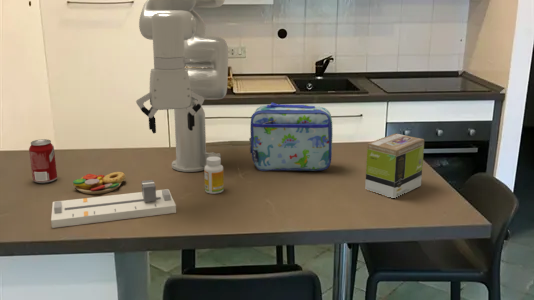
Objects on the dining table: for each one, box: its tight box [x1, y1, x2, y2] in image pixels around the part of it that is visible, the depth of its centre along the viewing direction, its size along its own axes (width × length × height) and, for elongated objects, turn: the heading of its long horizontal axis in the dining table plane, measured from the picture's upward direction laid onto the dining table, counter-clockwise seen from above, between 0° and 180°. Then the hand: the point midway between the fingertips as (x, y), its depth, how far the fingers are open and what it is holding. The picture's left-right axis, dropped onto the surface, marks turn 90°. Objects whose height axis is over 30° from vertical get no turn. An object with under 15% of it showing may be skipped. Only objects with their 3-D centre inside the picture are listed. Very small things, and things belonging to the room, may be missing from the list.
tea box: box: [364, 132, 425, 199], centre depth 155 cm, size 15×10×15 cm, turn 135°
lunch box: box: [249, 102, 333, 172], centre depth 170 cm, size 26×11×21 cm, turn 84°
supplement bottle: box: [203, 157, 225, 195], centre depth 152 cm, size 5×5×10 cm
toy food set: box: [72, 171, 126, 195], centre depth 155 cm, size 13×13×3 cm
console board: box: [50, 188, 177, 229], centre depth 139 cm, size 30×12×4 cm, turn 109°
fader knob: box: [140, 179, 157, 202], centre depth 141 cm, size 3×5×4 cm, turn 19°
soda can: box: [28, 138, 58, 184], centre depth 158 cm, size 7×7×12 cm
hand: (172, 130), depth 139 cm, fingers open, 9 cm apart
